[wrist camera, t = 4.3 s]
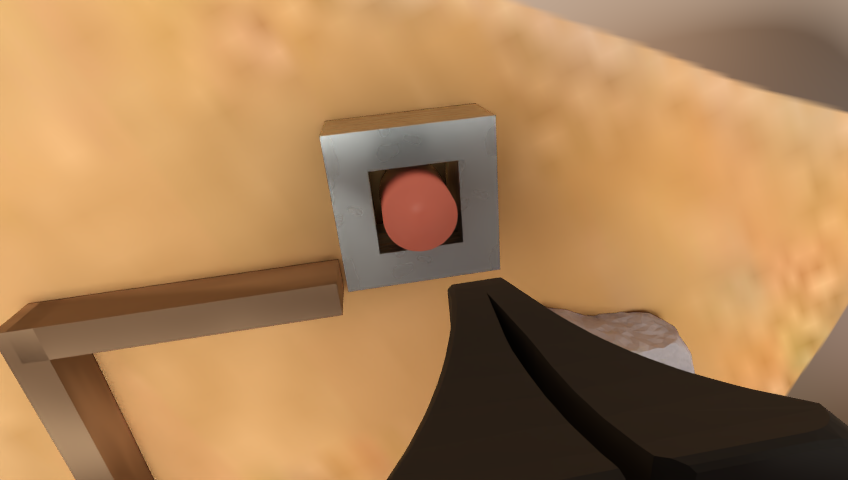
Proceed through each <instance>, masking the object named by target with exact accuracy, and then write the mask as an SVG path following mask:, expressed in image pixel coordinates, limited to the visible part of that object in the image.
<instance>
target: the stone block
mask: <svg viewBox="0 0 848 480" xmlns="http://www.w3.org/2000/svg"><path fill="white" fill-rule="evenodd" d="M548 309H550V310H551V311H553V312H555V313H556V314H558V315H560V316H561V317H563V318H565V319H566V320H568V321H570V322H572V323H574V324H575V325H577V326H579V327H581V328H583V329H585V330H586V331H588V332H590V333H592V334H594V335H596V336H598V337H600V338H602V339H604V340H607V341H609V342H611V343H613V344H616V345H618V346H620V347H622V348H625V349H627V350H629V351H632V352H634V353H637V354H639V355H642V356H644V357H647V358H649V359H652V360H655V361H658V362H661V363H664V364H666V365H669V366H672V367H675V368H678V369H681V370H684V371H687V372H690V373H694V374H695V372H694V367H693V362H692V356H691V353H690V351H689V349H688V347H687V346H686V344H685V343H684V342H683V340H682V339H681V337H680V336H679V334H678V331H677V329H676V328H675V327H674V326H673V325H671V324H669V323H668V322H666V321H664V320H662V319H660V318H658V317H656V316H654V315H652V314H650V313H641V312H630V313H626V312H618V313H607V314H599V315H596V316H585V315H581V314H578V313H574V312H572V311H569V310H566V309H553V308H548Z"/></svg>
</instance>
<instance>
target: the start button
mask: <svg viewBox="0 0 848 480" xmlns="http://www.w3.org/2000/svg"><path fill="white" fill-rule="evenodd" d="M379 195H380V202H381V209H382V216H383V222H384V227H385V230H386V232H387V234H388V236H389V237H390V238H391V240H392V241H393V242H394V243H396V244H397V245H398V246H400V247H402V248H404V249H407V250H410V251H427V250H431V249H434V248H436V247H438V246H439V245H441V244H442V243H444V242H445V241H446V240H447V239H448V238H449V237H450V236H451V234H452V233H453V231H454V229H455V226H456V223H457V218H458V212H457V206H456V203H455V201H454V199H453V197H452V195H451V194H450V192H449V190H448V189H447V187H446V185H445V184H444V182H443V180H442V178H441V177H440V175H439V174H438V172H437V171H436V170H435V168H433V167H432V166H431V165H430V164H425V165H417V166H410V167H402V168H394V169H388V170H387V171H386V173H385V174H384V175H383V177H382V180H381V182H380V187H379Z"/></svg>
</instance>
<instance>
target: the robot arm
mask: <svg viewBox="0 0 848 480" xmlns="http://www.w3.org/2000/svg"><path fill="white" fill-rule="evenodd" d="M448 299H449V311H450V322H451V331H450V337H449V342H448V347H447V352H446V357H445V361H444V365H443V368H442V372H441V375H440V378H439V381H438V384H437V387H436V389H435V392H434V394H433V397H432V399H431V402H430V404H429V407H428V409H427V411H426V413H425V416H424V418H423V420H422V421H421V423H420V425H419V427H418V429H417V431H416V433H415V435H414V437H413V439H412V440H411V442H410V444H409V446H408V448H407V449H406V451H405V453H404V454H403V456H402V457H401V459H400V460H399V462H398V463H397V465H396V466H395V468H394V469H393V471H392V473H391V474H390V476H389V477H388V479H387V480H848V426H847V425H846V424H845V423H843V422H842V421H841V420H840V419H838V418H837V417H836V416H834V415H833V414H832V413H831V412H830V411H828V410H827V409H826V408H824V407H823V406H822V405H821V404H819V403H815V402H810V401H805V400H801V399H796V398H791V397H786V396H782V395H777V394H772V393H767V392H762V391H758V390H753V389H748V388H744V387H740V386H737V385H733V384H729V383H725V382H722V381H718V380H714V379H711V378H707V377H703V376H700V375H697V374H694V373H690V372H687V371H684V370H681V369H678V368H675V367H672V366H669V365H666V364H664V363H661V362H658V361H655V360H652V359H649V358H647V357H644V356H642V355H639V354H637V353H634V352H632V351H629V350H627V349H625V348H622V347H620V346H618V345H616V344H613V343H611V342H609V341H607V340H604V339H602V338H600V337H598V336H596V335H594V334H592V333H590V332H588V331H586V330H585V329H583V328H581V327H579V326H577V325H575V324H574V323H572V322H570V321H568V320H566V319H565V318H563V317H561V316H560V315H558V314H556V313H555V312H553V311H551V310H550V309H548V308H546V307H545V306H543V305H542V304H540V303H539V302H537V301H536V300H534V299H532V298H531V297H530V296H528V295H527V294H525V293H524V292H522V291H521V290H519V289H518V288H516V287H515V286H513V285H512V284H510V283H509V282H507V281H506V280H504V279H502V278H501V277H500V278H493V279H487V280H480V281H474V282H467V283H461V284H454V285H451V286H450V288H449V289H448Z"/></svg>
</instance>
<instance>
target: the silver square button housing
mask: <svg viewBox="0 0 848 480" xmlns="http://www.w3.org/2000/svg"><path fill="white" fill-rule="evenodd" d="M319 137H320V142H321V148H322V153H323V158H324V164H325V169H326V174H327V180H328V185H329V190H330V196H331V201H332V206H333V212H334V217H335V222H336V228H337V233H338V238H339V244H340V249H341V254H342V260H343V265H344V270H345V276H346V281H347V286H348V292H351V291H357V290H364V289H371V288H378V287H384V286H391V285H398V284H404V283H411V282H418V281H424V280H431V279H438V278H445V277H451V276H458V275H465V274H471V273H478V272H485V271H491V270H498V269H500V250H499V215H498V180H497V145H496V115H494V114H493V113H491V112H489V111H488V110H486V109H484V108H482V107H481V106H479V105H477V104H475V103H474V104H465V105H457V106H448V107H440V108H431V109H423V110H415V111H406V112H398V113H389V114H381V115H372V116H364V117H355V118H347V119H338V120H330V121H325V122H324V125H323V128H322V131H321V133H320V136H319ZM441 162H445V169H446V182H447V189H448V190H449V192H450V194H451V195H452V197H453V199H454V201H455V203H456V206H457V212H458V218H457V223H456V226H455V229H454V231H453V233H452V234H451V236H450V237H449V238H448V239H447V240H446V241H445V242H444V243H442V244H441V245H439V246H438V247H436V248H434V249H431V250H427V251H410V250H407V249H404V248H402V247H400V246H398V245H397V244H396V243H394V242H393V241H392V240H391V238H390V237H389V236H388V234H387V232H386V230H385V227H384V224H376V217H375V211H374V204H373V197H372V190H371V183H370V177H369V172H371V171H378V170H386V169H394V168H402V167H410V166H417V165H425V164H433V163H441Z"/></svg>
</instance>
